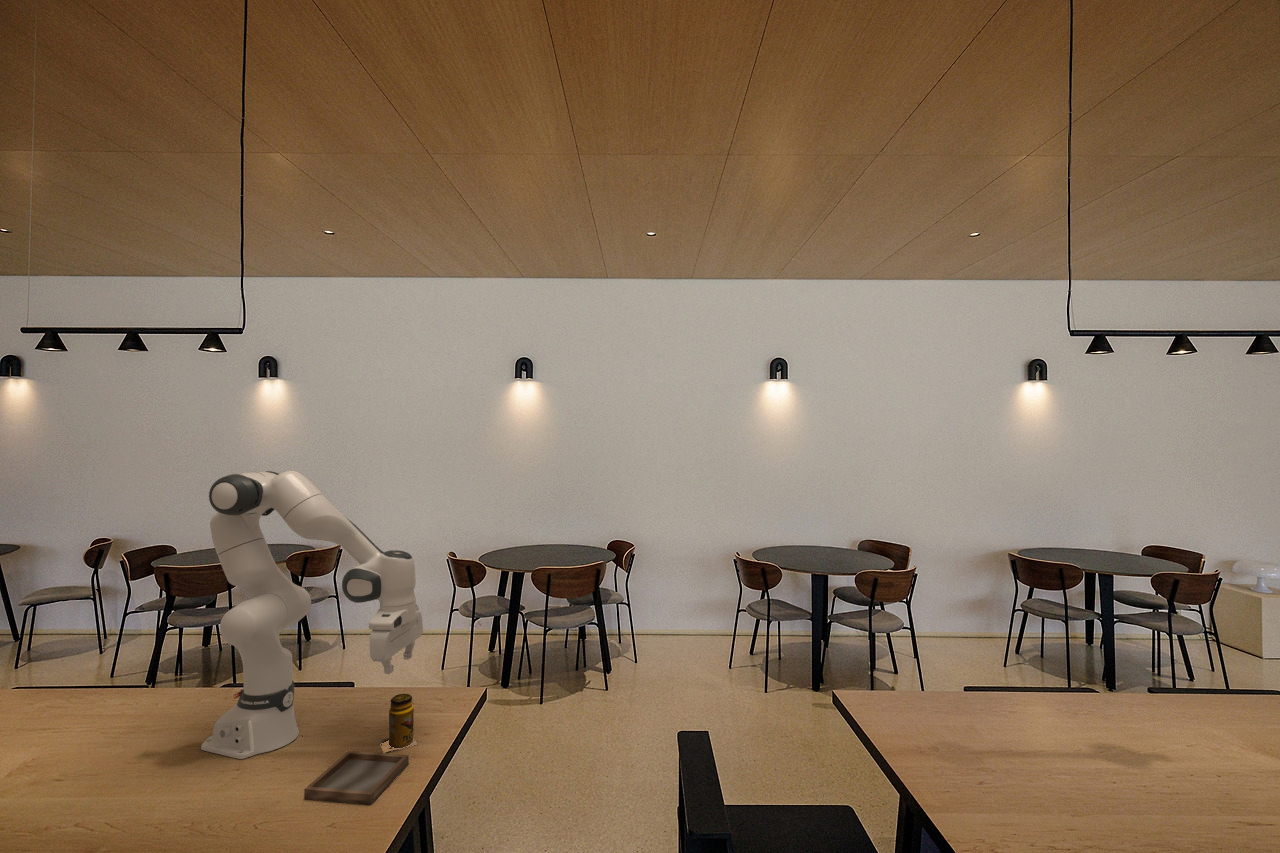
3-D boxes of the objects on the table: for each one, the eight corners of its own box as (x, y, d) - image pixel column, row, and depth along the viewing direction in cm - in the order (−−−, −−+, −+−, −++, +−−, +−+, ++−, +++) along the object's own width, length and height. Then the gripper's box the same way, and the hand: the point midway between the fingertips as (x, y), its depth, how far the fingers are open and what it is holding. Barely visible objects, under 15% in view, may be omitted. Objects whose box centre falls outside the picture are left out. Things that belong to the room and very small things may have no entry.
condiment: (417, 745, 155) (417, 699, 156) (383, 754, 151) (383, 707, 151) (411, 733, 162) (411, 689, 162) (377, 742, 157) (377, 696, 157)
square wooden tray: (304, 799, 132) (304, 789, 132) (348, 759, 148) (348, 750, 148) (371, 805, 130) (371, 794, 130) (408, 764, 146) (408, 755, 146)
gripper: (407, 601, 167) (407, 650, 167) (364, 625, 147) (365, 681, 147) (428, 601, 166) (428, 651, 166) (388, 625, 146) (389, 682, 146)
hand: (398, 665), depth 156 cm, fingers open, 8 cm apart
